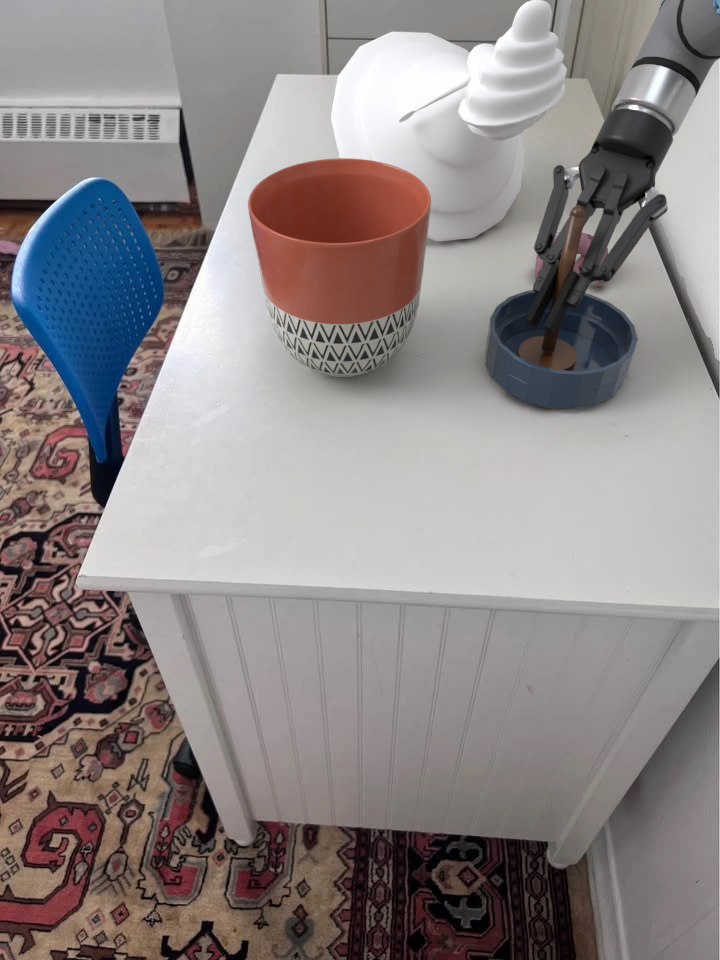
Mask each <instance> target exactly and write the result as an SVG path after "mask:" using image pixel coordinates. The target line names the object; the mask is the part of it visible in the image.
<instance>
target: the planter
mask: <svg viewBox="0 0 720 960" xmlns="http://www.w3.org/2000/svg"><path fill="white" fill-rule="evenodd" d="M430 208H431V196H430V193H429V190H428V189H427V187H426V186H425V184H424V183H423V182H422V181H421V180H420V179H419V178H417V177H416V176H414V175H413V174H411V173H409V172H408V171H406V170H403V169H401V168H398V167H396V166H393V165H390V164H386V163H382V162H377V161H371V160H364V159H350V158H340V157H339V158H337V157H336V158H324V159H323V158H322V159H317V160H316V159H315V160H310V161H304V162H301V163H296V164H293V165H290V166H286V167H284V168H282V169H280V170H277V171H275V172H273V173H271V174H269V175H268V176H266V177H265V178H263V179H262V180H260V181H259V182H258V183H257V184H256V185H255V187H253V189H252V190H251V192H250V194H249V197H248V200H247V210H248V215H249V222H250V227H251V233H252V237H253V243H254V247H255V253H256V258H257V262H258V267H259V268H258V269H259V274H260V279H261V284H262V289H263V294H264V298H265V305H266V308H267V313H268V317H269V321H270V322H271V325H272V328H273V330H274V332H275V334H276V336H277V338H278V340H279V341H280V343H281V345H282V346H283V348H284V349H285V350H286V352H288V353H289V355H291V357H293V358H294V359H295V360H296V361H297V362H299V363H300V364H302V365H303V366H305V367H307V368H308V369H310V370H312V371H315V372H317V373H320V374H323V375H326V376H331V377H339V378H343V377H345V378H346V377H347V378H348V377H356V376H360V375H364V374H367V373H370V372H372V371H375V370H376V369H378V368H380V367H383V365H385V364H386V363H388V362H389V361H390V360H392V359H393V357H395V356H396V355H397V354H398V353H399V351H401V349H402V348H403V347H404V345H405V344H406V342H407V340H408V339H409V336H410V334H411V331H412V329H413V328H414V324H415V321H416V318H417V315H418V310H419V306H420V299H421V298H420V297H421V292H422V291H421V290H422V284H423V283H422V282H423V276H424V275H423V274H424V267H425V259H426V250H427V249H426V248H427V241H428V238H427V235H428V227H429V218H430Z"/></svg>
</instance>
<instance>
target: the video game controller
mask: <svg viewBox="0 0 720 960" xmlns="http://www.w3.org/2000/svg"><path fill="white" fill-rule="evenodd" d="M560 232H561V231H560ZM560 232H559V231H557V232H556V236H555V239H554V242H555V240H556V238H557V237H558V235H559V233H560ZM593 236H594V235H592V234H589V233H586V232H583V231H582V234H581V238H580V243H579V247H578V251H577V255H580V256H579V257H578V258H576V260H575V265H574V269H573V271H574V272H575V273H578V275H579V273H580V271H579V266H580V267H581V265H582V263H583V260H584V258H585V255H586V253H587V251H588V248H589V246H590V243H591V241H592V239H593ZM554 242H553V243H554ZM608 253H609V249H608V247H607V249H606V251H605V254H604V256H603V258H602V261H601V263H602V262H603V260H604V259H605V258H606V256H607V255H608ZM601 263H600V265H601ZM543 264H544V261H543V260H542V259H540V258H539V256H538V255H537V254H536V260H535V269H534V277H535V278H536V279H537V277H538V275H539V273H540V271H541V269H542V267H543ZM603 282H604V281H603V280H599V281H593V283H594V286H595V287H596V288H598V287H600V286H601V285H602V283H603Z"/></svg>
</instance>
